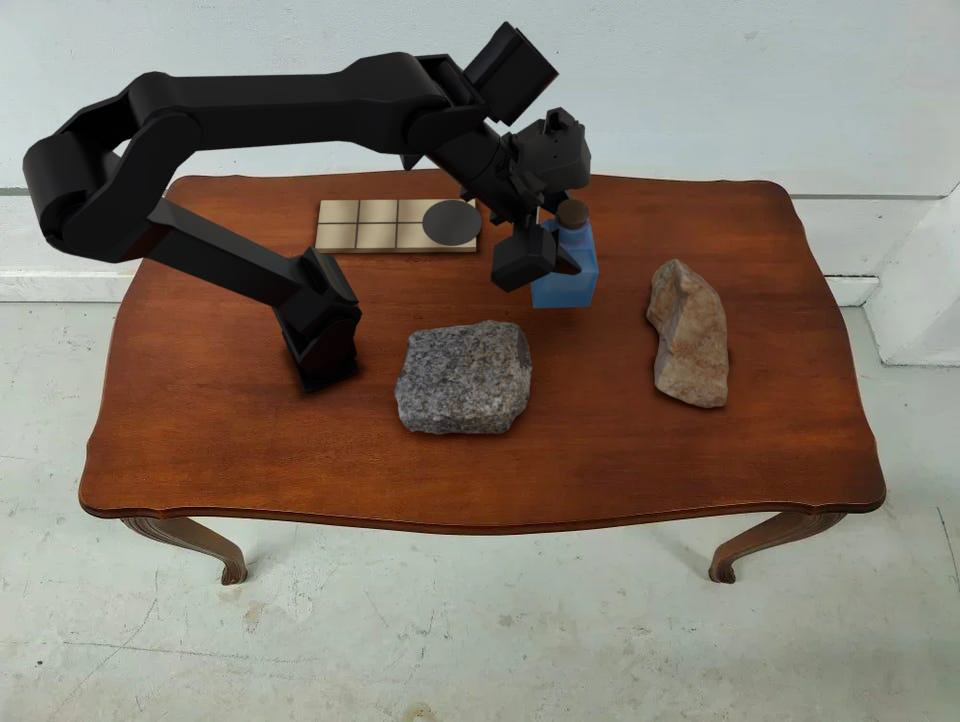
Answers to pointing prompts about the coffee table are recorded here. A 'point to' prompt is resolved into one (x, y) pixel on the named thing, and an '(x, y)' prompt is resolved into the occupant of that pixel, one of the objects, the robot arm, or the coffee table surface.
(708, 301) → the stone
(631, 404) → the coffee table surface
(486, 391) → the rock
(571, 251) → the perfume bottle
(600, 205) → the coffee table surface
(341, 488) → the coffee table surface
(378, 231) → the board
